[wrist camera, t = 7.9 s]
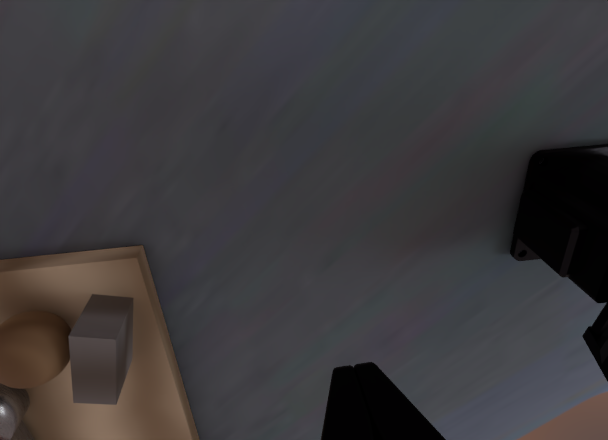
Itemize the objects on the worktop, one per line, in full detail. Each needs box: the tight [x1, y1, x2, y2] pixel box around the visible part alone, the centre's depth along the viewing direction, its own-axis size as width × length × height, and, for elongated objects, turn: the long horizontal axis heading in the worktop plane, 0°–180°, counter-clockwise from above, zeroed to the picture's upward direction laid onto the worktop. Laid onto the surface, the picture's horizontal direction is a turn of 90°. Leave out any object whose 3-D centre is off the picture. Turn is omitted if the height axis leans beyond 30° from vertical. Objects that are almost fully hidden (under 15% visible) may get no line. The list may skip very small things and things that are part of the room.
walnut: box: [0, 311, 72, 389], centre depth 20 cm, size 4×4×4 cm
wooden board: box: [0, 245, 199, 440], centre depth 23 cm, size 15×20×4 cm
